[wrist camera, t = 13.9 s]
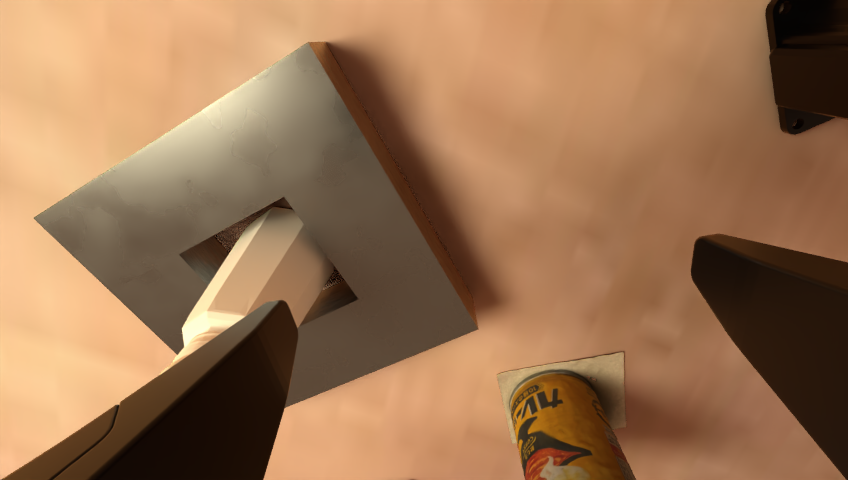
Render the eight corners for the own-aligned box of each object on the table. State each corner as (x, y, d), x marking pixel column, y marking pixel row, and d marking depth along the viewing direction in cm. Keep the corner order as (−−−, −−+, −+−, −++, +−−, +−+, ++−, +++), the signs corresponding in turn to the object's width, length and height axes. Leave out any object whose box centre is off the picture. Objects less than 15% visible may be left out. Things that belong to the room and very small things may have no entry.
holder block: (325, 41, 18) (308, 42, 16) (472, 297, 25) (478, 329, 22) (81, 196, 22) (33, 218, 19) (265, 385, 28) (248, 422, 25)
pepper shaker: (228, 215, 22) (72, 355, 12) (321, 195, 22) (233, 324, 12) (267, 294, 25) (161, 464, 15) (351, 278, 24) (299, 443, 14)
